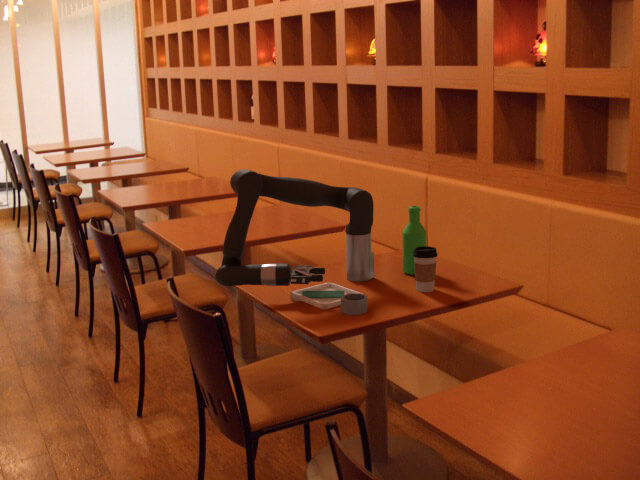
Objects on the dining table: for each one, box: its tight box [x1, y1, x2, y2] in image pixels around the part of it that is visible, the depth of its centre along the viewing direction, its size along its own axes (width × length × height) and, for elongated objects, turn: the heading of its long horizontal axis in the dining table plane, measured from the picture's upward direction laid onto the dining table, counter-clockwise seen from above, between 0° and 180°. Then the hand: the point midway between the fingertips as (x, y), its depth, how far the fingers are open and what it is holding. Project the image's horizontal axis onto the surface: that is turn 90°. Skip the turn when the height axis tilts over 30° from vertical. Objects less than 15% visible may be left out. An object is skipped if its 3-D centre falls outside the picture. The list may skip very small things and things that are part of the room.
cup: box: [340, 292, 369, 316], centre depth 249 cm, size 8×8×6 cm
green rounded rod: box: [302, 290, 345, 298], centre depth 264 cm, size 2×2×14 cm
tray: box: [289, 281, 366, 311], centre depth 264 cm, size 17×19×2 cm
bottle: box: [401, 205, 428, 276], centre depth 290 cm, size 9×9×25 cm
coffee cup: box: [413, 245, 438, 293], centre depth 270 cm, size 8×8×15 cm
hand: (323, 274), depth 262 cm, fingers open, 8 cm apart
